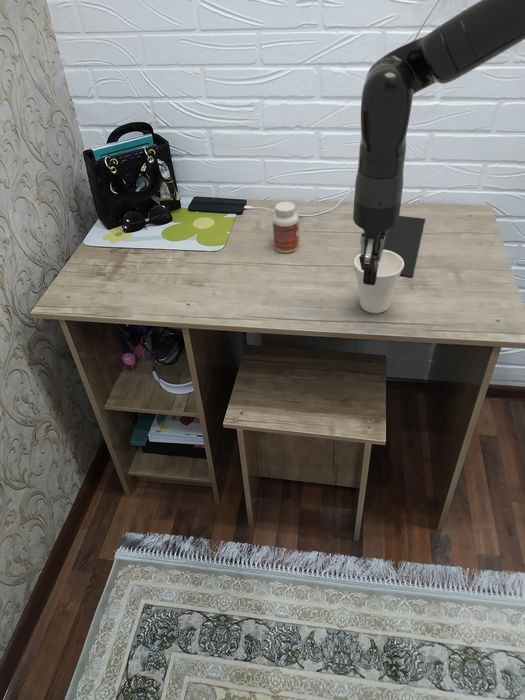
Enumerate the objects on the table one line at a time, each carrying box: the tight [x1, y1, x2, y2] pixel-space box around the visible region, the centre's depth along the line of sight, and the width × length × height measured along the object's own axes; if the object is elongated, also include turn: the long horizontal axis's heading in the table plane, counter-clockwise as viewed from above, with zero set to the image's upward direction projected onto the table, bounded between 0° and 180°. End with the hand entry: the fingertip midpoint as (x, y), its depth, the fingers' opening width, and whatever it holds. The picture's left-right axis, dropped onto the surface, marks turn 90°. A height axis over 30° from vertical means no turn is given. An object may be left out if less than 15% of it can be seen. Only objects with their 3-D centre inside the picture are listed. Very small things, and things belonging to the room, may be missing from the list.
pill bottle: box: [272, 201, 300, 254], centre depth 137 cm, size 6×6×11 cm
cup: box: [353, 250, 404, 314], centre depth 118 cm, size 10×10×11 cm
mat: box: [354, 215, 426, 278], centre depth 139 cm, size 26×13×1 cm, turn 162°
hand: (369, 282), depth 104 cm, fingers closed
